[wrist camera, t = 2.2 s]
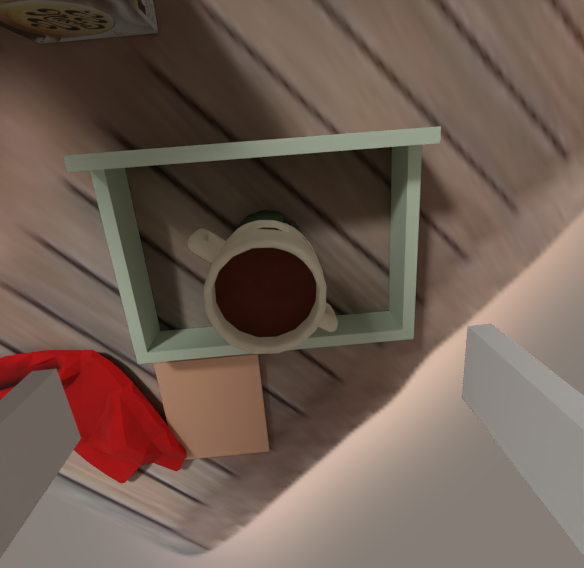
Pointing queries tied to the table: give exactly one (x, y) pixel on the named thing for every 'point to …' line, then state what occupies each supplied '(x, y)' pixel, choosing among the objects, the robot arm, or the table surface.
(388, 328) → the frame
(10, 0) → the coffee box
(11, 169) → the table surface
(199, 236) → the character mug
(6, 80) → the table surface
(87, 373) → the cloth
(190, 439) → the terracotta tile
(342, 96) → the table surface
